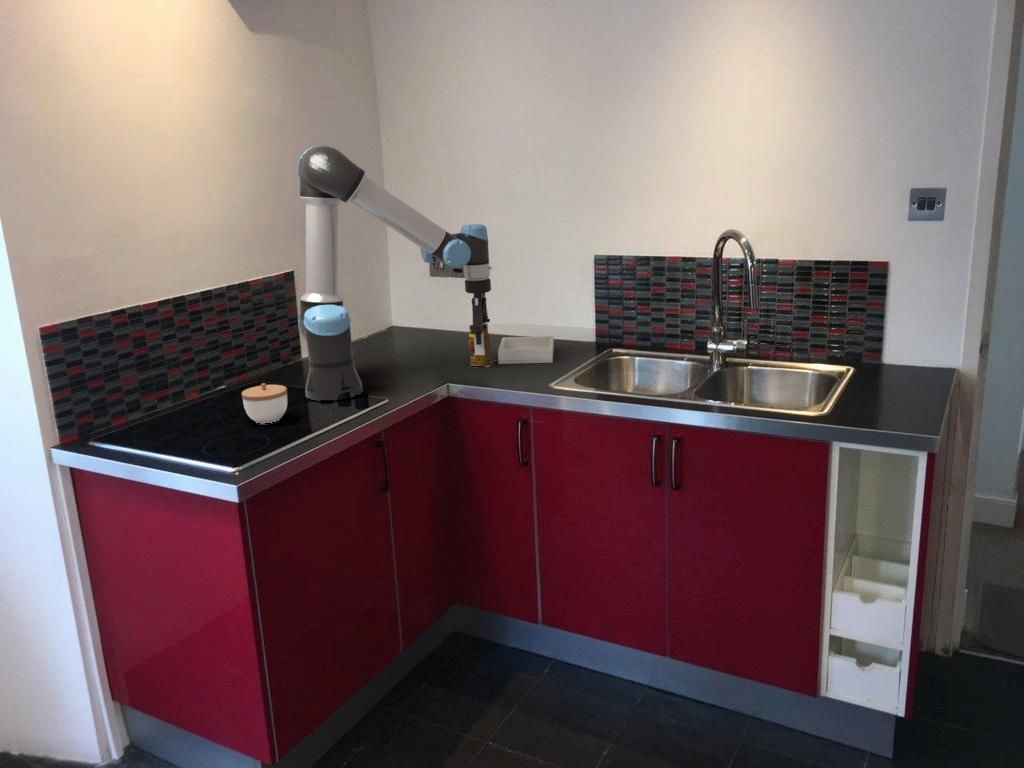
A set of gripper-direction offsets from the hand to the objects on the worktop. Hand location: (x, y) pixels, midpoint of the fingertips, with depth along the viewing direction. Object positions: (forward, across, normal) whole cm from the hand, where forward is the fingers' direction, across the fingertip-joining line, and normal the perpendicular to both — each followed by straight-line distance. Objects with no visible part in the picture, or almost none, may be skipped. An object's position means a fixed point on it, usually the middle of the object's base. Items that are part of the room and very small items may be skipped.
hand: (482, 349), depth 265 cm
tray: (+4, +8, -13) cm, 16 cm away
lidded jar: (+4, -52, +48) cm, 71 cm away
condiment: (+4, 0, 0) cm, 5 cm away
